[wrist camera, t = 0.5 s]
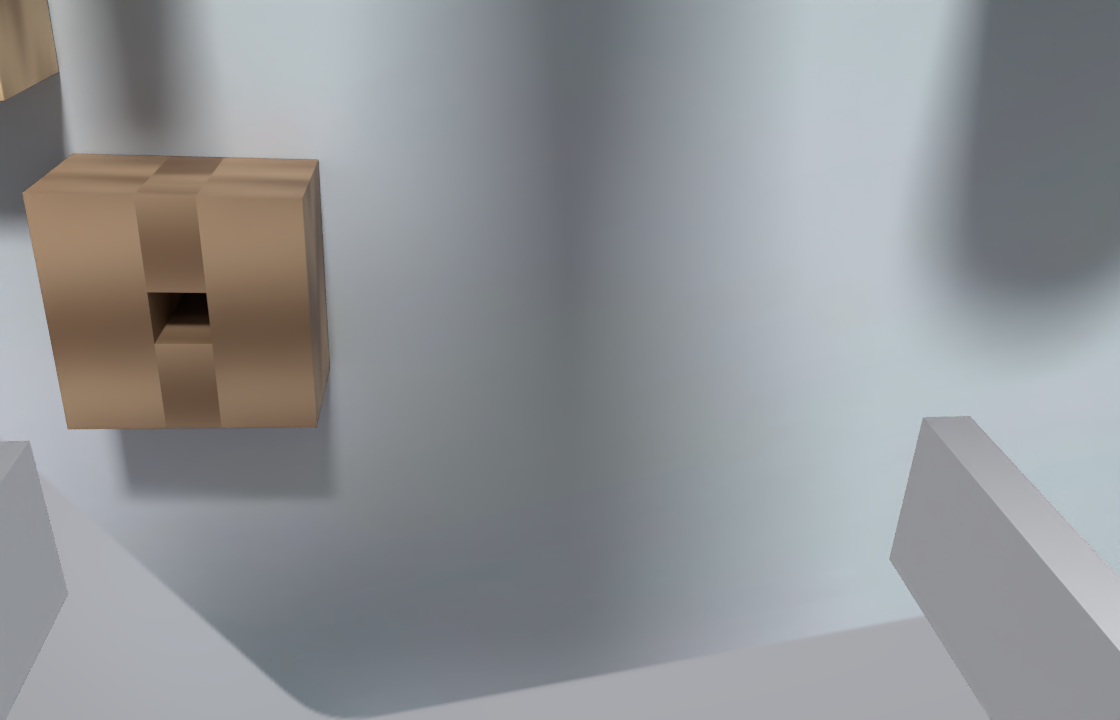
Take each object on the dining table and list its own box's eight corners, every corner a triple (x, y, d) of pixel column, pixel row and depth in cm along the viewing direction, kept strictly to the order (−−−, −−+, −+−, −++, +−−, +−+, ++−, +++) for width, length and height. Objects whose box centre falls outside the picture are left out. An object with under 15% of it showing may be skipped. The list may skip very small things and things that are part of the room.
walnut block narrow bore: (72, 153, 37) (22, 192, 32) (318, 159, 38) (302, 198, 33) (108, 368, 41) (67, 429, 36) (329, 367, 42) (316, 427, 37)
